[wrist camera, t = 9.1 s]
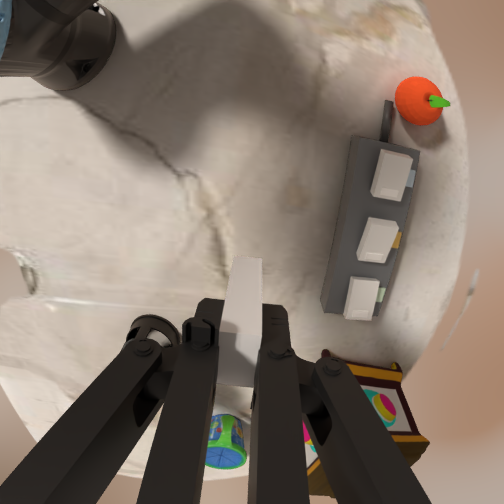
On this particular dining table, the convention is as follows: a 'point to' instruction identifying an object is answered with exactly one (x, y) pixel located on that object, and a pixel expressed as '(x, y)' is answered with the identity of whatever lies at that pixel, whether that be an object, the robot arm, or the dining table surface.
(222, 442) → the snack cup
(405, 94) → the clementine
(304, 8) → the dining table surface
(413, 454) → the decorative lantern
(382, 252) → the plate
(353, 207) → the power strip
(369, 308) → the rocker
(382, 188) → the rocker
